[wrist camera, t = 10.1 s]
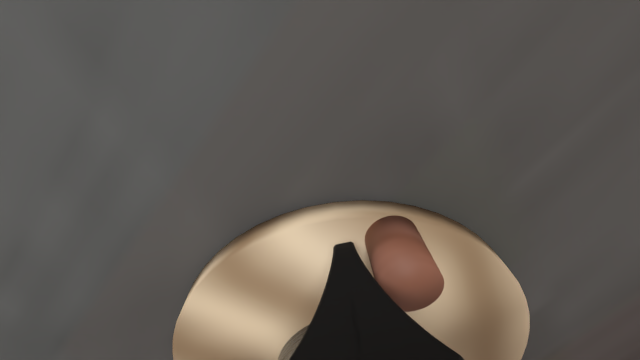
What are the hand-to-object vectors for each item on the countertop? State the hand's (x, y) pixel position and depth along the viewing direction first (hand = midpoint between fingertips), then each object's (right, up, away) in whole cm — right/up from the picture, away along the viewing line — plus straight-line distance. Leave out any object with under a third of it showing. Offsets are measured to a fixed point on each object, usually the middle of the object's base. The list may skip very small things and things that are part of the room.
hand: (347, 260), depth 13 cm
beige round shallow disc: (+1, -6, +6) cm, 9 cm away
